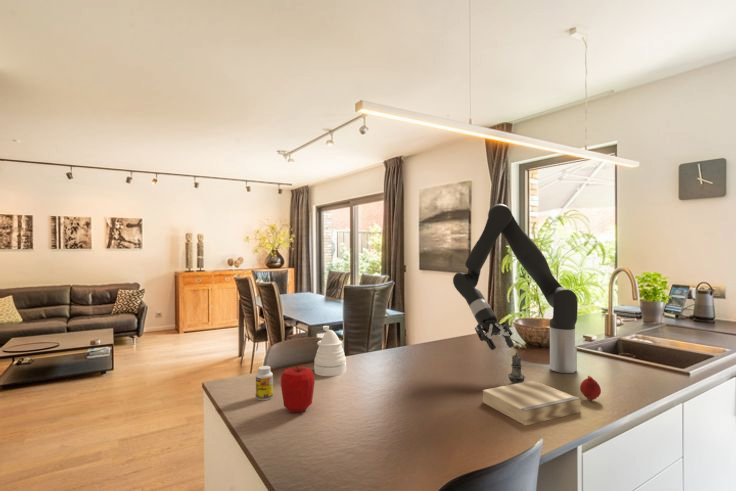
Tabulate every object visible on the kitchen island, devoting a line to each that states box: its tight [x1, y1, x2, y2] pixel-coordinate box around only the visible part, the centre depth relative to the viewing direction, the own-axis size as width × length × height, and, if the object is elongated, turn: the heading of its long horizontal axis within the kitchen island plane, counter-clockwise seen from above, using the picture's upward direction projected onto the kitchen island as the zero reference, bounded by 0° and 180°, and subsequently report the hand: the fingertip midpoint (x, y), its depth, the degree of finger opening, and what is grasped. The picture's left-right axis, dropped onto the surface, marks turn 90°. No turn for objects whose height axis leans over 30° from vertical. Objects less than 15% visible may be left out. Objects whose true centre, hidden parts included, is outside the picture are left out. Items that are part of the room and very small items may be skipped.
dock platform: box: [482, 379, 581, 426], centre depth 124 cm, size 22×18×4 cm
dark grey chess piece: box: [507, 352, 526, 385], centre depth 142 cm, size 6×6×12 cm
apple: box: [280, 366, 315, 413], centre depth 123 cm, size 10×10×14 cm
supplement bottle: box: [255, 365, 274, 401], centre depth 132 cm, size 6×6×10 cm
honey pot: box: [313, 325, 347, 377], centre depth 160 cm, size 13×13×18 cm
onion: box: [579, 375, 602, 402], centre depth 129 cm, size 6×6×8 cm
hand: (503, 347), depth 148 cm, fingers open, 8 cm apart
